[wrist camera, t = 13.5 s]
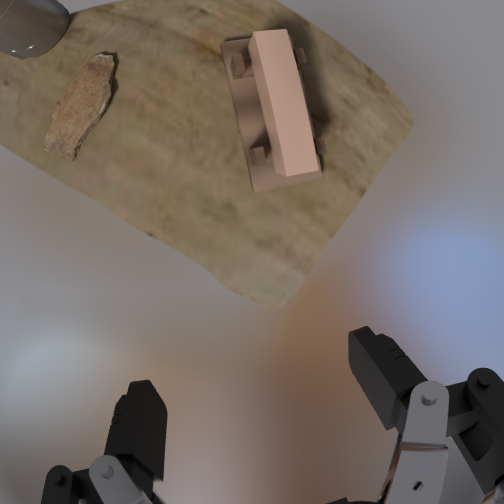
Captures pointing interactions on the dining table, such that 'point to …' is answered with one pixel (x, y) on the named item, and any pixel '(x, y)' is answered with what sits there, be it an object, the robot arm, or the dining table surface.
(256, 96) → the brown cradle stand
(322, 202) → the dining table surface
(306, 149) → the clay bar
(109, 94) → the pottery shard
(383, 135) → the dining table surface
